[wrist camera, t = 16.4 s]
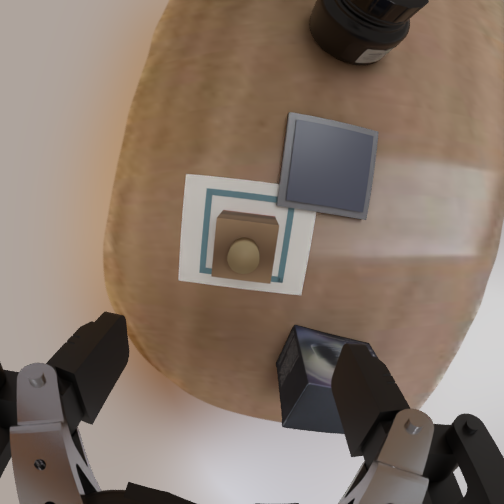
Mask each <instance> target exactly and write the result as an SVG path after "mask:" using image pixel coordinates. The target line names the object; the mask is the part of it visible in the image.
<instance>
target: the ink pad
mask: <svg viewBox="0 0 504 504" xmlns="http://www.w3.org/2000/svg"><path fill="white" fill-rule="evenodd" d="M377 142H378V132H377V131H374V130H370V129H366V128H363V127H359V126H355V125H351V124H347V123H342V122H338V121H333V120H329V119H324V118H319V117H314V116H309V115H303V114H298V113H292V112H289V114H288V118H287V126H286V134H285V142H284V150H283V158H282V165H281V173H280V180H279V189H278V196H277V203H276V205H277V206H281V207H288V208H295V209H302V210H309V211H315V212H322V213H328V214H334V215H340V216H346V217H352V218H358V219H364V220H366V218H367V213H368V207H369V201H370V195H371V189H372V182H373V175H374V167H375V159H376V151H377Z"/></svg>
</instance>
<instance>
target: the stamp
mask: <svg viewBox="0 0 504 504" xmlns="http://www.w3.org/2000/svg"><path fill="white" fill-rule="evenodd" d="M278 231H279V224H278V222H277V220H276V218H275V216H269V215H261V214H253V213H245V212H237V211H228V210H223V211H222V212H221V213H220V215H219V216H218V217H217V220H216V230H215V241H214V251H213V262H212V274H211V277H218V278H226V279H234V280H242V281H251V282H259V283H267V284H270V283H271V277H272V270H273V264H274V258H275V251H276V244H277V238H278Z"/></svg>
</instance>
